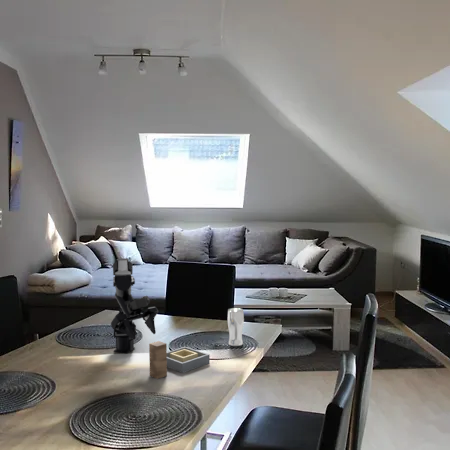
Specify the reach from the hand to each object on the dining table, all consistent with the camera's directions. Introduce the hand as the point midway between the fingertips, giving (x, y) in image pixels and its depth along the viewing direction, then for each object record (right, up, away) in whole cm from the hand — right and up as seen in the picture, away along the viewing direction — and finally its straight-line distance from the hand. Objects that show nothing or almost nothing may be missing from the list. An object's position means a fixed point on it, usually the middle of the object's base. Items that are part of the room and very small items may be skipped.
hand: (145, 336), depth 202 cm
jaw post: (+5, -14, -4) cm, 15 cm away
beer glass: (+34, -10, +33) cm, 49 cm away
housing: (+14, -12, +9) cm, 20 cm away
